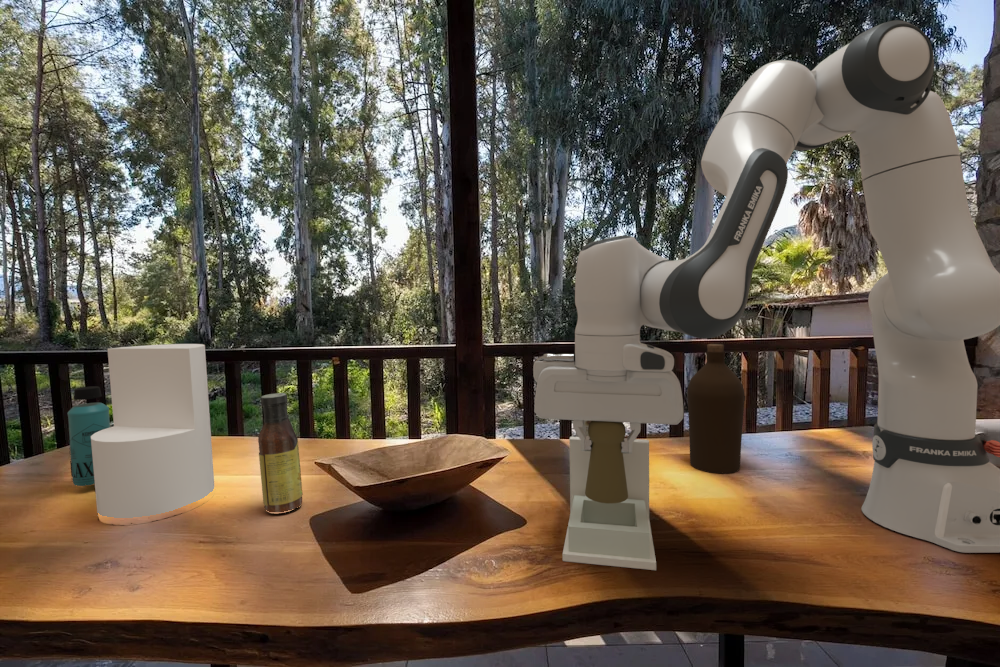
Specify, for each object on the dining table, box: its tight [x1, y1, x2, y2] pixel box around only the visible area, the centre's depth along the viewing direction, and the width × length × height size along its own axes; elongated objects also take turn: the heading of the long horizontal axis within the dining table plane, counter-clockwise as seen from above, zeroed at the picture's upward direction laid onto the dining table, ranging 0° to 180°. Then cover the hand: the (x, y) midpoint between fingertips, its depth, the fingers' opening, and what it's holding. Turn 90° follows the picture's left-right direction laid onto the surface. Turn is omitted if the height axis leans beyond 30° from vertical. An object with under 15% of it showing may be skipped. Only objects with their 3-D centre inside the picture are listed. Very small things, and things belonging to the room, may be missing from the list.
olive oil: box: [686, 343, 746, 474], centre depth 99 cm, size 11×11×25 cm
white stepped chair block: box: [91, 343, 215, 518], centre depth 87 cm, size 17×17×28 cm
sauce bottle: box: [257, 392, 304, 512], centre depth 84 cm, size 7×6×20 cm
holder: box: [562, 436, 657, 571], centre depth 70 cm, size 12×14×13 cm
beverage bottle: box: [67, 385, 111, 487], centre depth 95 cm, size 6×7×20 cm
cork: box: [585, 421, 628, 503], centre depth 69 cm, size 6×6×11 cm
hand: (606, 451), depth 69 cm, fingers closed on cork, 4 cm apart
